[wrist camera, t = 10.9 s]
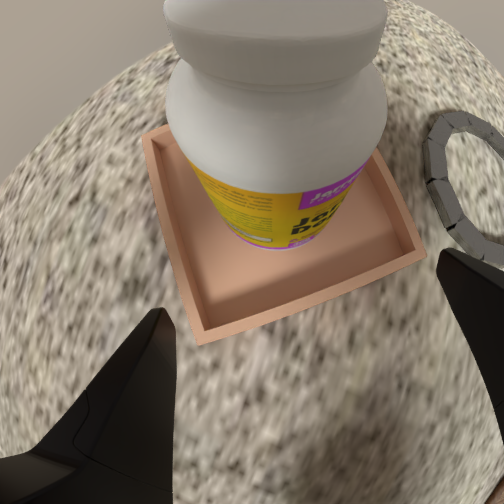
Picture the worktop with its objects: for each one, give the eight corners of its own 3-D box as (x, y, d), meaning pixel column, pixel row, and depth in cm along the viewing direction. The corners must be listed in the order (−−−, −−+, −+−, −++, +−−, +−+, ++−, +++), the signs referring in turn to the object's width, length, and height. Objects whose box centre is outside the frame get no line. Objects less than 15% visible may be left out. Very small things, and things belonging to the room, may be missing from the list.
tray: (409, 262, 16) (427, 256, 13) (208, 339, 16) (197, 345, 14) (325, 96, 18) (329, 75, 16) (154, 152, 18) (141, 135, 16)
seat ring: (541, 235, 15) (548, 233, 14) (466, 294, 15) (475, 293, 14) (485, 113, 17) (489, 108, 16) (394, 128, 17) (398, 121, 16)
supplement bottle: (288, 277, 15) (342, 177, 3) (197, 208, 16) (65, 43, 4) (353, 188, 16) (455, 11, 3) (266, 131, 17) (248, -59, 4)
